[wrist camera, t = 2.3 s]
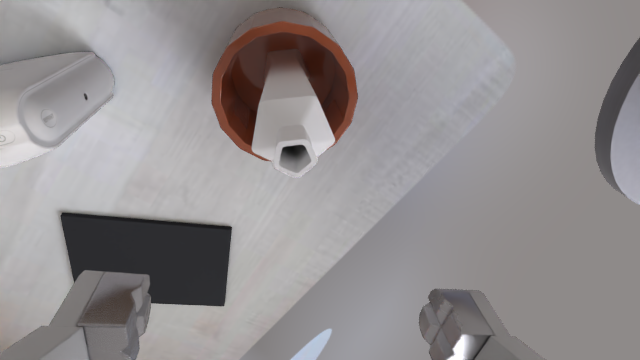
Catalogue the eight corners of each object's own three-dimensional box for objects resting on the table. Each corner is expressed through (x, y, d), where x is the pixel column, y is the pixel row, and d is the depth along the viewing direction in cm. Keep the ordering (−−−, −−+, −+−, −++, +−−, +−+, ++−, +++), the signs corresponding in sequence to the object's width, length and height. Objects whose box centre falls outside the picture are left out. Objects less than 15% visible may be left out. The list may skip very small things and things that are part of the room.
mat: (231, 226, 38) (231, 229, 37) (224, 303, 44) (224, 306, 44) (62, 212, 35) (60, 215, 34) (79, 296, 41) (77, 300, 40)
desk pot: (353, 21, 28) (373, 38, 23) (327, 131, 33) (339, 170, 27) (228, -5, 27) (215, 7, 21) (220, 116, 31) (208, 154, 26)
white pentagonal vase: (246, 57, 29) (224, 137, 16) (296, 34, 28) (315, 98, 16) (272, 107, 31) (270, 211, 19) (318, 86, 31) (350, 179, 18)
